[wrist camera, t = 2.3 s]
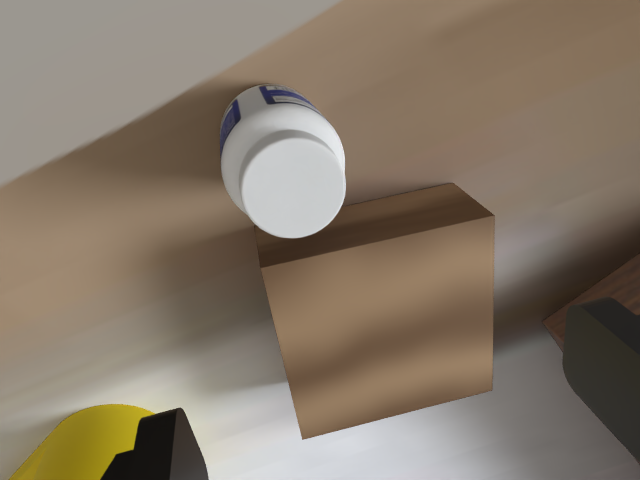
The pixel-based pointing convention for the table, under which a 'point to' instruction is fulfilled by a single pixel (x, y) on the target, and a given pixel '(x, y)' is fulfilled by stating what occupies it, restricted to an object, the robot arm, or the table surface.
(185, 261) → the table surface
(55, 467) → the crank
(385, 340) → the walnut block
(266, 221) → the pill bottle
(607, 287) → the tissue box cover
